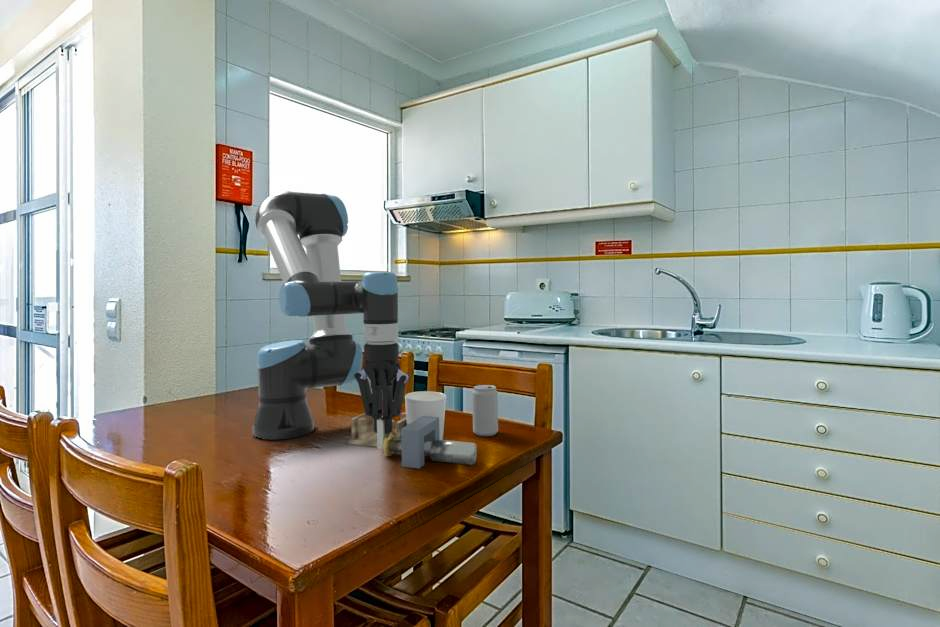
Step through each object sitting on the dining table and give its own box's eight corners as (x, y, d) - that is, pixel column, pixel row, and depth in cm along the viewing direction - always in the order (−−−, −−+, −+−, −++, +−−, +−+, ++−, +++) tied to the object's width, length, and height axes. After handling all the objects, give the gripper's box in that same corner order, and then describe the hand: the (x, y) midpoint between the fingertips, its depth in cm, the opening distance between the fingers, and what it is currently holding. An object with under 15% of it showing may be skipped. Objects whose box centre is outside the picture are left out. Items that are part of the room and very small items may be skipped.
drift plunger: (382, 457, 114) (382, 437, 113) (392, 451, 118) (392, 431, 118) (428, 463, 110) (428, 441, 110) (437, 456, 114) (436, 435, 114)
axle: (429, 460, 110) (431, 438, 111) (437, 460, 114) (439, 439, 115) (469, 465, 107) (471, 442, 108) (475, 464, 111) (477, 443, 112)
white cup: (450, 441, 128) (451, 393, 127) (437, 453, 118) (438, 401, 118) (413, 437, 130) (413, 389, 130) (397, 449, 121) (398, 398, 120)
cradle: (349, 443, 125) (348, 419, 124) (370, 432, 134) (370, 409, 134) (400, 448, 120) (399, 423, 120) (418, 436, 130) (418, 412, 129)
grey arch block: (402, 466, 109) (401, 428, 108) (423, 450, 119) (422, 416, 118) (419, 468, 107) (418, 430, 107) (439, 452, 117) (439, 417, 117)
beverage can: (496, 437, 128) (495, 389, 127) (470, 436, 129) (469, 388, 128) (499, 430, 134) (499, 384, 133) (475, 429, 135) (474, 383, 135)
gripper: (346, 343, 113) (348, 449, 115) (400, 345, 109) (402, 455, 110) (364, 339, 120) (366, 439, 122) (415, 341, 116) (417, 445, 118)
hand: (383, 447), depth 116 cm, fingers closed
